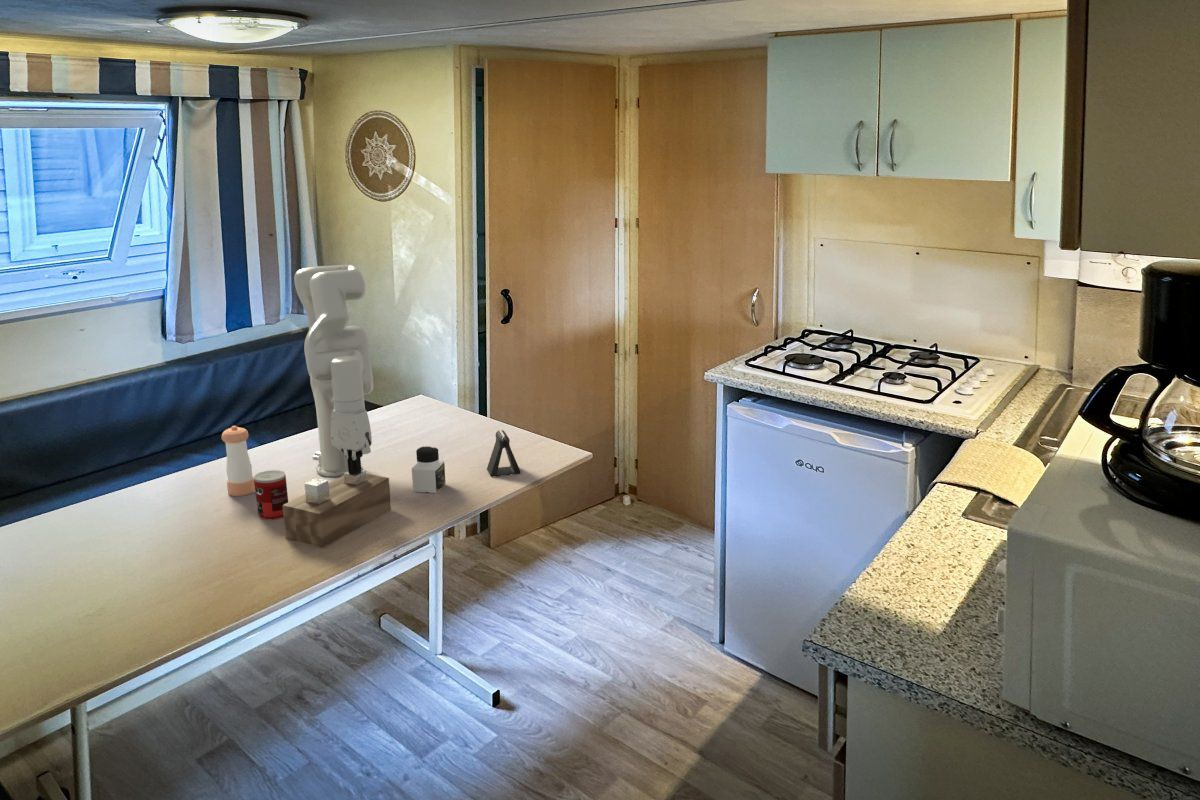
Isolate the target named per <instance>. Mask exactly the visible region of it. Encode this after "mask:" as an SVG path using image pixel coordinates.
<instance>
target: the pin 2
mask: <svg viewBox="0 0 1200 800" xmlns="http://www.w3.org/2000/svg"><path fill="white" fill-rule="evenodd" d="M366 474H367V470H364V469H363V470H362V469H361V472H358V473H356V474H349V473H348V472H346V473H344V482H345V484H348V485H352V486H359V485H361V484H363V483H365V482H367V476H366Z"/></svg>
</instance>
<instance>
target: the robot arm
mask: <svg viewBox="0 0 1200 800" xmlns="http://www.w3.org/2000/svg"><path fill="white" fill-rule="evenodd" d="M294 286H295V290H296V294H297V296H298V298H299V300H300V302H301V305H302V307H303V308H304V310H305V314H306V317H307V324H308V331H307V334H306V336H305V340H304V346H303V349H304V356H305V357H304V359H305V363H306V368H307V371H308V373H307V374H308V375H309V377H310V378H309V379H310V380H309V381H310V382H309V383H310V387H311V391H312V395H313V399H314V405H315V410H316V422H317V429H318V440H319V441H318V442H319V449H320V451H316V452H315V453H314V455H313V456H312V460H313V461H318V465H317V466H316V473H317V474H319V475H321V476H323V477H331V478H333V477H334V478H335V477H342V476H344V473H346V472H348V473H349V474H356V473H358V472H361V470H362V461H361V458H363V456H364V455H368V454H370V453H371V452H372V450H371V446H372V442H373V441H372V429H371V424H370V419H369V414H368V411H367V409H366V408H365V407H366V405H365V397H364V396H367V395H368V394H370V393H372V391H373V389H374V375H373V370H372V369H373V368H372V362H371V361H372V360H371V354H370V353H371V351H370V346H369V340H368V339H369V338H368V335H367V333H366V330H364V328H363V327H361V326H358V325H348V324H349V322H350V316H349V311H348V307H347V303H346V302H347V301H348V302H349V301H359V300H362V299H363V298H364V297H365V296H366V283H365V279H364V276H363V274H362V272H361V271H360V270H359V269H358V268H357V266H355V265H354V264H337V265H335V264H334V265H319V266H309V267H303V268H301V269H298V270H297V271H296V272H295V273H294ZM347 325H348V326H347Z"/></svg>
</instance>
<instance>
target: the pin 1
mask: <svg viewBox="0 0 1200 800" xmlns="http://www.w3.org/2000/svg"><path fill="white" fill-rule="evenodd" d="M328 483H329V480H327V479H321V478H317V477H315V478H313V479H311V480H308V481H307V482H305V483H304V491H305V493H304V494H306V503H309V504H314V505H318V506H319V505H321V504H323V503H325V502H327V501H329V500H330V495H329V484H328Z"/></svg>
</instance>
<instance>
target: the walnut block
mask: <svg viewBox="0 0 1200 800" xmlns="http://www.w3.org/2000/svg"><path fill="white" fill-rule="evenodd" d="M366 476H367V482H365V483H363V484H361V485H359V486H352V485H348V484H345V482H344V476H339V477H338V478H335V479H333V480H331V481H328V484H329V495H330V500H329V501H327V502H325V503H323V504H321V505H319V506H318V505H314V504H309V503H306V494H305V493H304V494H302V495H300V496H299V497H297V498H294V499H292V500H290V501H288V503H286V504H284V505H282V506H283V515H284V517H283V523H284V532H285V539H286V540H290V541H295V542H297V543H298V542H299V543H303V544H306V545H310V546H314V547H317V548H318V547H319V548H322V549H324V548H326V547H328V546H329V545H331V544H333V543H334V542H336V541H338V540H339V539H342V538H343V537H345V536H347V535H350V533H352V532H354V531H356V530H358V529H359V528H362V526H363V527H364V525H366V524H368V523H369V522H371V521H373V520H375V519H377V518H379V517H381V516H382V515H385V514H386V513H388V512H389V510H390V511H391V510H392V506H391V505H392V504H391V503H392V502H391V491H390V480H389V479H390V477H387V476H386V477H385V476H379V475H376V474H370V473H366ZM387 511H388V512H387ZM385 512H386V513H385Z"/></svg>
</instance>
